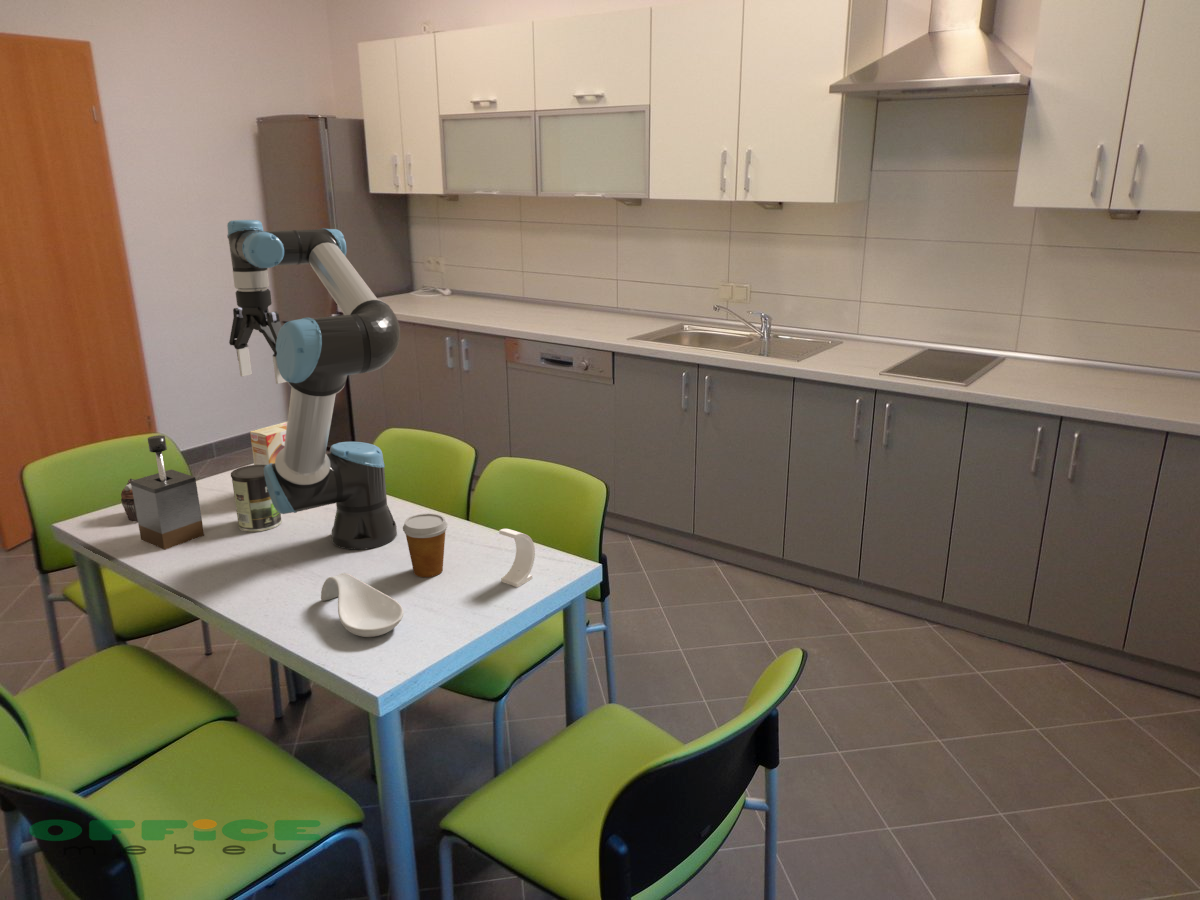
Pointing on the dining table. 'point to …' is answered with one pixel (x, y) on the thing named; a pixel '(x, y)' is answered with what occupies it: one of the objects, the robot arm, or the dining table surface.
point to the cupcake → (129, 502)
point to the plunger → (158, 453)
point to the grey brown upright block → (167, 509)
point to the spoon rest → (362, 606)
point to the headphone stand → (520, 559)
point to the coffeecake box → (268, 443)
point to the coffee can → (253, 500)
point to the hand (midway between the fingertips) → (263, 379)
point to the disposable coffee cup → (426, 543)
